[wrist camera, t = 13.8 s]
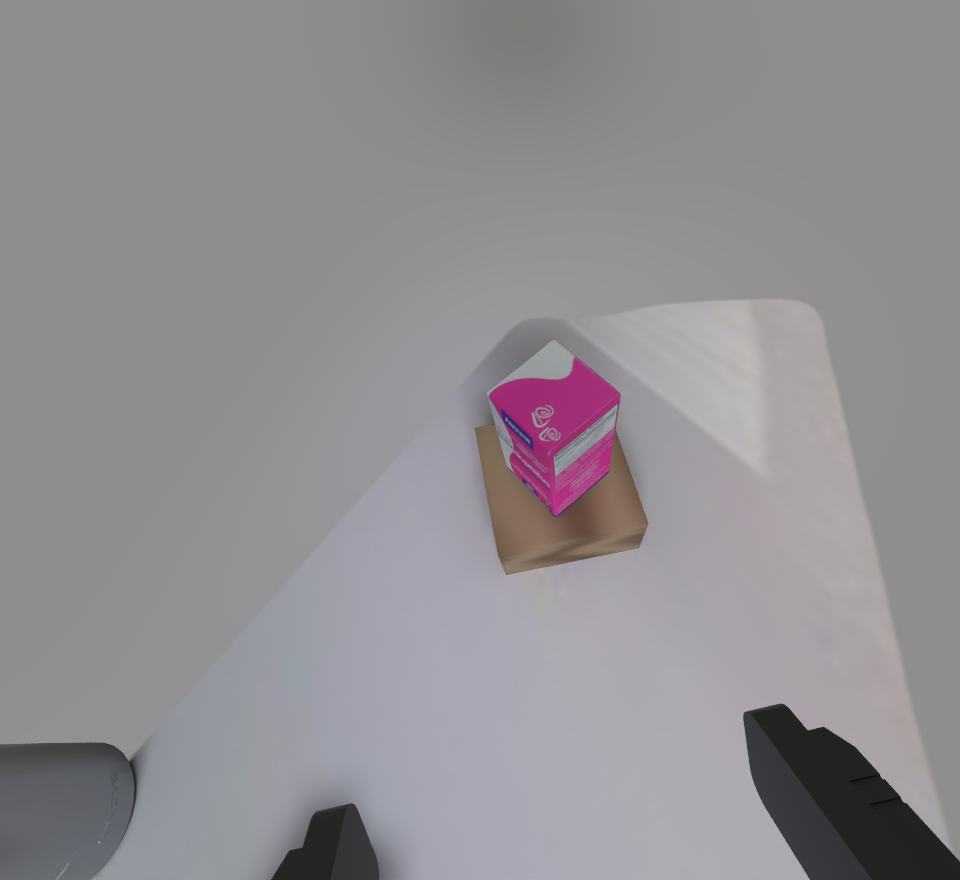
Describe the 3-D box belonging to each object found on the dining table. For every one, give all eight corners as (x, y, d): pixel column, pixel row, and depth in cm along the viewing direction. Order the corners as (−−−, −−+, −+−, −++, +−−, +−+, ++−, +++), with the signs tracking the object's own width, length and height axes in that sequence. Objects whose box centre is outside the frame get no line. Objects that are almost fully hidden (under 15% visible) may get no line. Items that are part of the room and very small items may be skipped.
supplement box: (504, 469, 40) (482, 389, 30) (559, 424, 41) (556, 332, 31) (554, 522, 37) (548, 453, 27) (612, 472, 39) (627, 389, 29)
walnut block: (506, 576, 42) (498, 554, 37) (485, 460, 48) (474, 428, 43) (638, 549, 42) (648, 523, 36) (600, 436, 47) (604, 399, 42)
